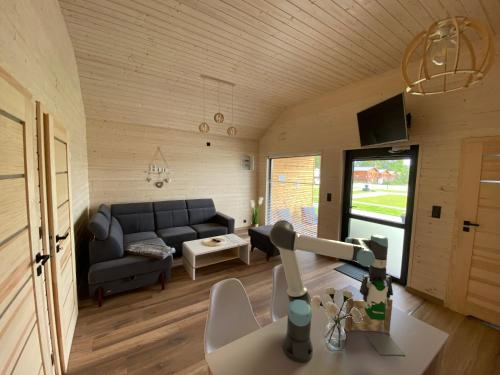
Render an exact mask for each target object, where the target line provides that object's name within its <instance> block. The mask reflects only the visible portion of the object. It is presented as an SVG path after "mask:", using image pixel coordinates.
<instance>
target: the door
mask: <svg viewBox="0 0 500 375" xmlns="http://www.w3.org/2000/svg"><path fill="white" fill-rule="evenodd" d="M353 307H355V308H357V309H358V310H359V311H360V313H361V315H362V318H363V320H362V322H360V323H355V322H354V321H353V319H351V331H368V332H369V331H371V332H383V331H384V330H383V322H384V320H373V319H370V318H369V316H368V314H367V313H366V311H365V306H364V300H363V299H353V306H352V308H353Z"/></svg>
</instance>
